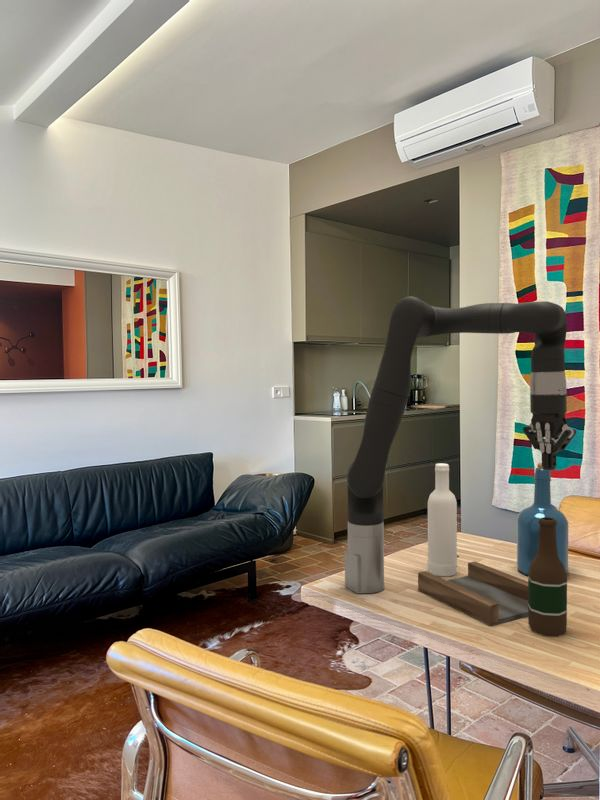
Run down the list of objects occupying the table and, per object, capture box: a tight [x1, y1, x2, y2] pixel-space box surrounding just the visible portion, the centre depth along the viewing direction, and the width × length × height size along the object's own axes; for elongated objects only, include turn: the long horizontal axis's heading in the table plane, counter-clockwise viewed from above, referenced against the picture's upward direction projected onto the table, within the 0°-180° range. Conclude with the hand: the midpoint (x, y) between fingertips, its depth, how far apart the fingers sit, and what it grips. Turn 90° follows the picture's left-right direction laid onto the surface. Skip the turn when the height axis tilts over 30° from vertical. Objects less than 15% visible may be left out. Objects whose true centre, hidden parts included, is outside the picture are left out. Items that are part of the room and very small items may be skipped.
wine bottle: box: [516, 462, 569, 576], centre depth 168 cm, size 14×13×30 cm
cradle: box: [417, 561, 528, 627], centre depth 148 cm, size 19×25×4 cm
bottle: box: [427, 462, 458, 578], centre depth 168 cm, size 8×8×30 cm
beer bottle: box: [527, 517, 568, 637], centre depth 131 cm, size 8×8×24 cm
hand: (549, 469), depth 137 cm, fingers closed
